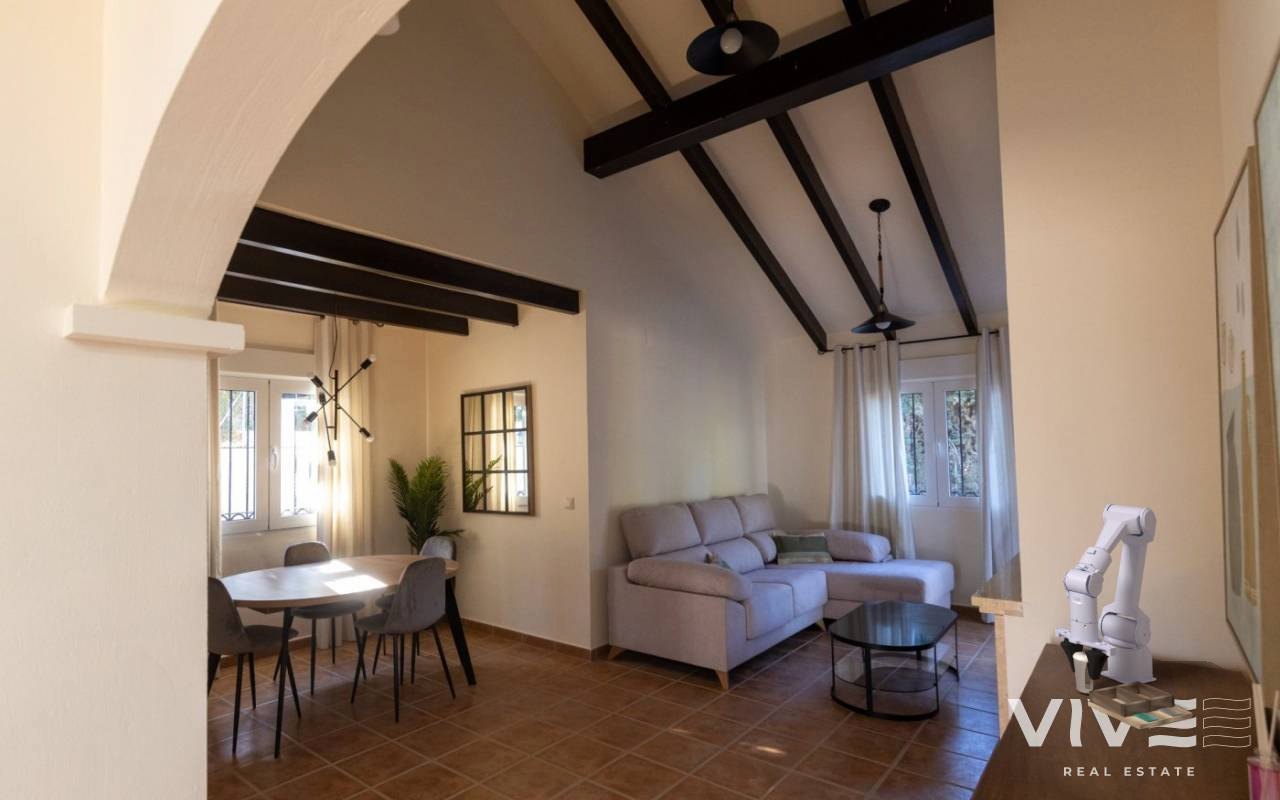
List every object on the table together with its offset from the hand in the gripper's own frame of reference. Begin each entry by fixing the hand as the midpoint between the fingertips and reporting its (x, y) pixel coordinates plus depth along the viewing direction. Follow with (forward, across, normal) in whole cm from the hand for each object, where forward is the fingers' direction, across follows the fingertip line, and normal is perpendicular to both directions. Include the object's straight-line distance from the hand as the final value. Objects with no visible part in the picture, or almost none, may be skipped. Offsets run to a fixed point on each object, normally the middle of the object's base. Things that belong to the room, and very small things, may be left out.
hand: (1085, 675), depth 161 cm
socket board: (+4, +11, +2) cm, 12 cm away
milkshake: (+4, 0, 0) cm, 4 cm away
